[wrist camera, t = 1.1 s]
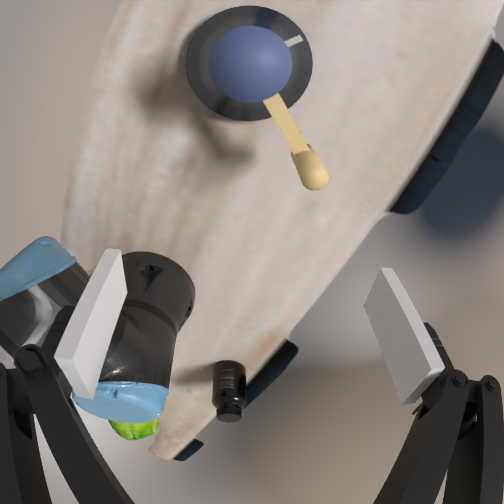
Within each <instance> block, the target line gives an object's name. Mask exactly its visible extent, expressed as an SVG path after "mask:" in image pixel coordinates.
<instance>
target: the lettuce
mask: <svg viewBox="0 0 504 504" xmlns="http://www.w3.org/2000/svg"><path fill="white" fill-rule="evenodd" d="M108 421H109V423H110V424H111V426H112V428H113V429H114V430H115V431H116V432H117V433H118V434H119V435H120V436H121V437H123V438H125V439H127V440H138V439H141V438H144V437H147V436H150V435H152V434H154V433H155V432H156V430H157V427H158V424H159V417H158V418H156V419H155V420H152V421H150V422H145V423H123V422H117V421H112V420H108Z"/></svg>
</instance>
